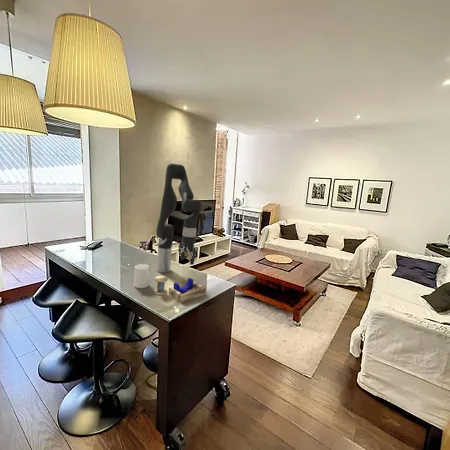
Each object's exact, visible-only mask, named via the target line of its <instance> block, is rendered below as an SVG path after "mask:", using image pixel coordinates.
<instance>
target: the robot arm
mask: <svg viewBox="0 0 450 450" xmlns="http://www.w3.org/2000/svg"><path fill="white" fill-rule="evenodd" d="M173 180H180V181H181V182H180V184H179V186H178V194H179V195H180V198H181V210H183V212H185V213H191V214H190V215H187V216H184V219H183V228H182V237H181V241H179V243H178V253H180V261H184V260H185V253H187V254H188V255H189V257H190V259H189V260H190V261H189V265H191V266H193V265H194V264H195V259H197V258H198V256H199V254H198V252H199V248H198V247H195V244H196V239H197V238H196V237H197V223H198V219H199V215H200V213H201V210H202V203H201V201H200V200H199V199H194V196H195V195H194V193H193V190H192V188H191V186H190V183H189V180H188V174H187V171H186V168H185V166H184V165H182V164H178V163H177V164H176V163H171V162H170V163H168V164H167V165H166V171H165V179H164V187H163V189H164V190H163V195H162V200H161V207H160V213H159V217H158V218H159V219H158V223H157V227H156V237H157V238H158V239H163V240H161V241H159V242H158V245H157V256H156V265H155V266H156V267H155V268H156V271H157V272H158V273H161V274H163V273H164V274H166V273H169V272H170V271H171V265H172V263H171V262H172V250H173V249H172V247H173V242H174V234H175V232H174V231H175V230H174V226H173V224H168V223H167V224H166V222H167V220H168V219H169V217H171V215H172V214H173V213H174V211H175V210H176V207H177V202H178V198H177V195H176V192H175V190H174V188H173V183H172V182H173Z"/></svg>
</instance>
